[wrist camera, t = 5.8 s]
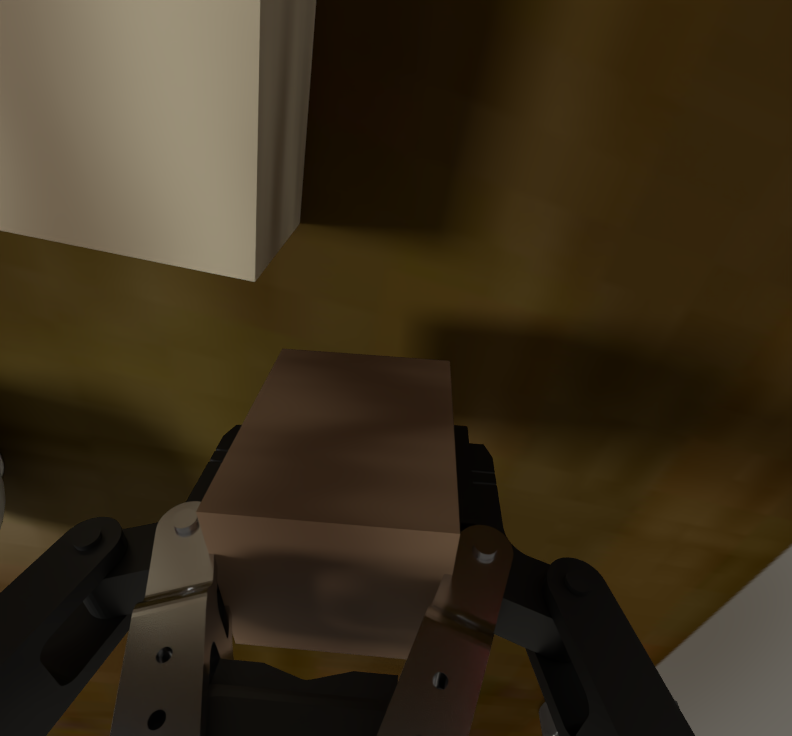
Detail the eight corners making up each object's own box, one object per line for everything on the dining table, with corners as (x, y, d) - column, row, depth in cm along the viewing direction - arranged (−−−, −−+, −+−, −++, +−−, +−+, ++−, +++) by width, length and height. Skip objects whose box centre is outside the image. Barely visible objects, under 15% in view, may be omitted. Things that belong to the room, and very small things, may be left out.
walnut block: (449, 360, 13) (460, 534, 8) (434, 478, 16) (435, 661, 11) (282, 348, 14) (195, 511, 9) (295, 467, 16) (235, 643, 11)
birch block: (331, -174, 10) (265, -328, 6) (301, 221, 15) (254, 281, 11) (-87, -285, 10) (-468, -537, 6) (25, 162, 15) (-131, 203, 11)
